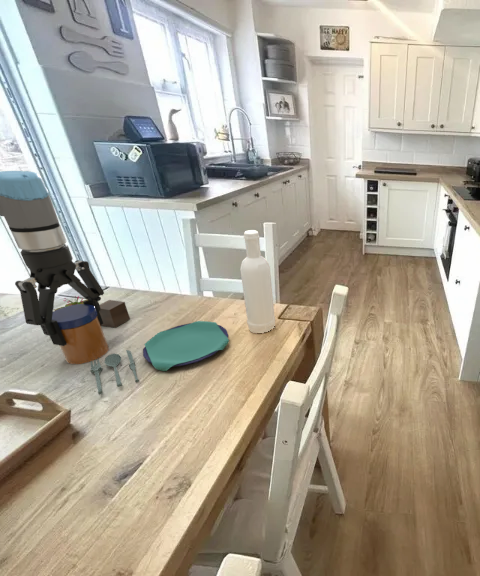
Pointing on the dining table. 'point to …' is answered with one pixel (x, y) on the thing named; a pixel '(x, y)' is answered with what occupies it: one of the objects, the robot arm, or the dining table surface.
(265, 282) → the bottle
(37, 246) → the robot arm
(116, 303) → the dark brown block
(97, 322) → the jar
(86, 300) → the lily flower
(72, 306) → the lid
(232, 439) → the dining table surface
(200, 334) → the cutlery set
